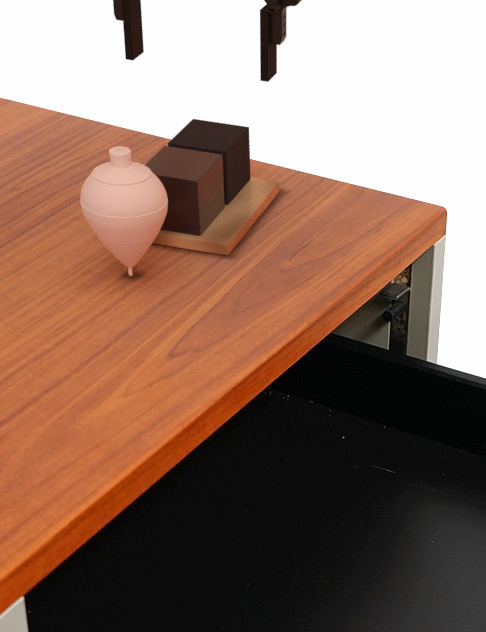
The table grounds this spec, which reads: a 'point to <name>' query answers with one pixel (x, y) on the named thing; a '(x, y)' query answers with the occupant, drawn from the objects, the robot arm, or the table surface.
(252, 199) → the board
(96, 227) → the spinning top
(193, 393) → the table surface
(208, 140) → the black cube
